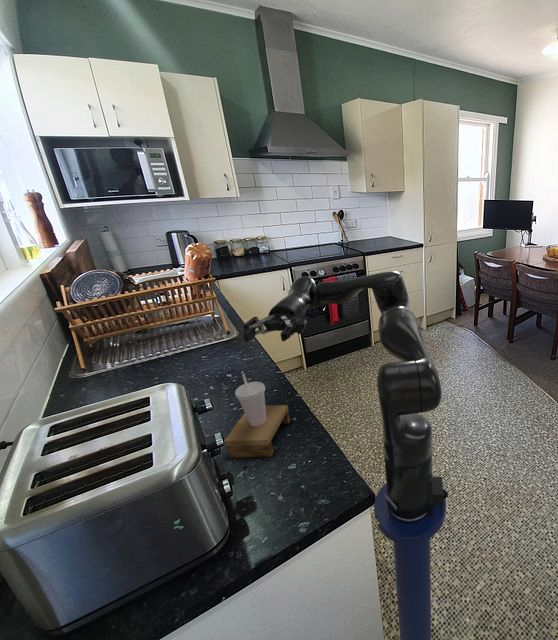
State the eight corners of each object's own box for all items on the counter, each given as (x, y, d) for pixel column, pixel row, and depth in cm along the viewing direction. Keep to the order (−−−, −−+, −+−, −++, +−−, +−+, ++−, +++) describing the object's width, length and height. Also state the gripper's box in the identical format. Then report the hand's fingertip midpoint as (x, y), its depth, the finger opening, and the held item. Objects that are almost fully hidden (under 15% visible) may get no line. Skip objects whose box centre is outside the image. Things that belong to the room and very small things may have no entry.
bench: (290, 420, 93) (287, 405, 91) (271, 456, 81) (267, 440, 79) (253, 420, 93) (249, 405, 91) (229, 457, 81) (223, 440, 79)
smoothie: (239, 421, 85) (226, 373, 80) (265, 409, 90) (254, 363, 84) (249, 434, 81) (235, 384, 76) (276, 421, 85) (265, 372, 80)
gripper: (260, 300, 94) (230, 323, 79) (312, 299, 94) (292, 322, 80) (265, 325, 97) (237, 352, 82) (316, 324, 97) (297, 351, 82)
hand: (264, 338), depth 81 cm, fingers open, 8 cm apart
